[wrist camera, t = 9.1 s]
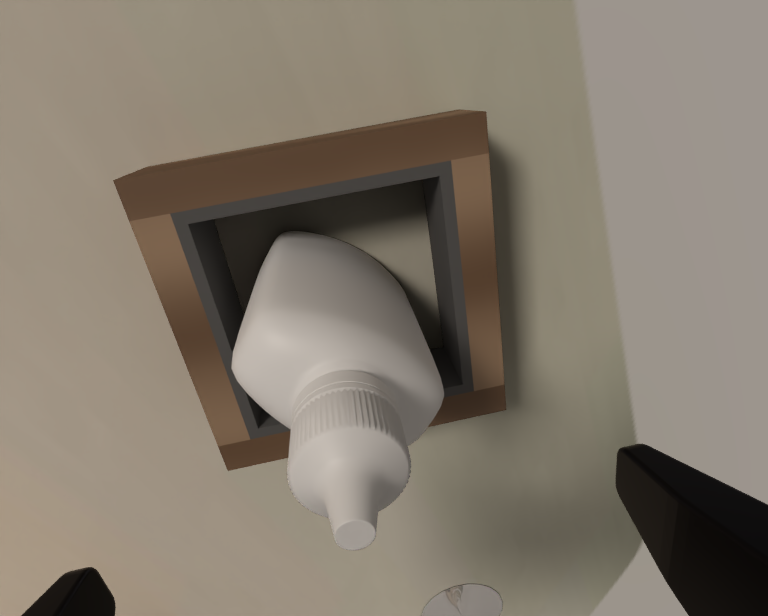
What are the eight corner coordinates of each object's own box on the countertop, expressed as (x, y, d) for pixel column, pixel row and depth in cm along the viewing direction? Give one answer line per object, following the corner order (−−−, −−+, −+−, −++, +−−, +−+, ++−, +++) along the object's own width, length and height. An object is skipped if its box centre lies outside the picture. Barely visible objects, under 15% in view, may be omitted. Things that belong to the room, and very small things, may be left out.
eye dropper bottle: (327, 360, 20) (336, 667, 9) (244, 253, 18) (130, 494, 7) (415, 308, 20) (534, 568, 9) (342, 191, 17) (382, 347, 7)
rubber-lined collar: (481, 370, 21) (506, 409, 19) (239, 422, 21) (227, 470, 18) (458, 109, 17) (486, 111, 14) (146, 166, 16) (113, 180, 14)
